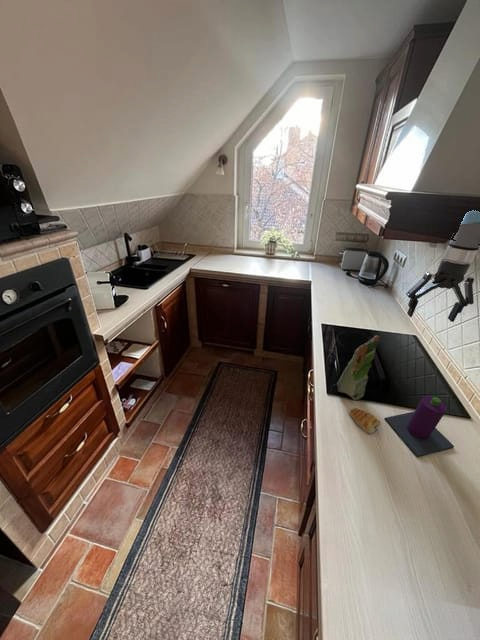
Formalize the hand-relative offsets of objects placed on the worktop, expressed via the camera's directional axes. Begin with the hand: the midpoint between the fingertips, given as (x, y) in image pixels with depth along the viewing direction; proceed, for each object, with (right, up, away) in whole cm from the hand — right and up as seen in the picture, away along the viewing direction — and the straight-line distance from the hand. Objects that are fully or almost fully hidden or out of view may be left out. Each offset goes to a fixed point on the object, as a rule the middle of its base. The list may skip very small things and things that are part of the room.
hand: (429, 317), depth 93 cm
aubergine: (-11, -38, -9) cm, 40 cm away
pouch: (-26, -29, +7) cm, 40 cm away
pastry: (-27, -36, -6) cm, 46 cm away
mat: (-11, -38, -9) cm, 41 cm away
